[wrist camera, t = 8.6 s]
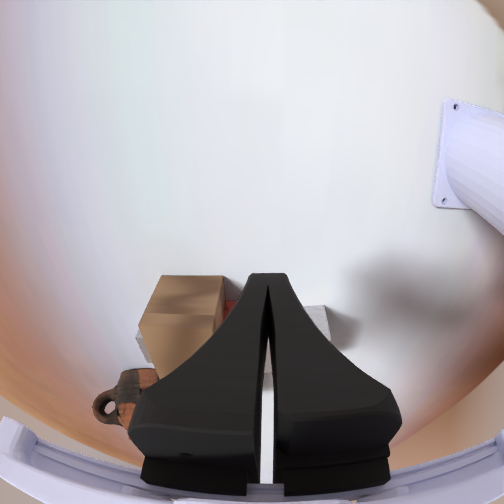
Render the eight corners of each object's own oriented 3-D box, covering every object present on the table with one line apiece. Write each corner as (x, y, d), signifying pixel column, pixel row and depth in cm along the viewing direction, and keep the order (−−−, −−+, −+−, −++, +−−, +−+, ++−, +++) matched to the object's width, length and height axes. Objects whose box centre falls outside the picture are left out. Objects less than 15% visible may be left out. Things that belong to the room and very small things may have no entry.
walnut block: (222, 275, 23) (211, 329, 18) (234, 371, 29) (229, 419, 24) (161, 275, 24) (138, 325, 19) (187, 369, 30) (176, 415, 25)
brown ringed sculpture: (180, 362, 30) (192, 437, 26) (189, 376, 38) (199, 435, 34) (78, 368, 28) (84, 440, 24) (106, 382, 36) (112, 439, 32)
